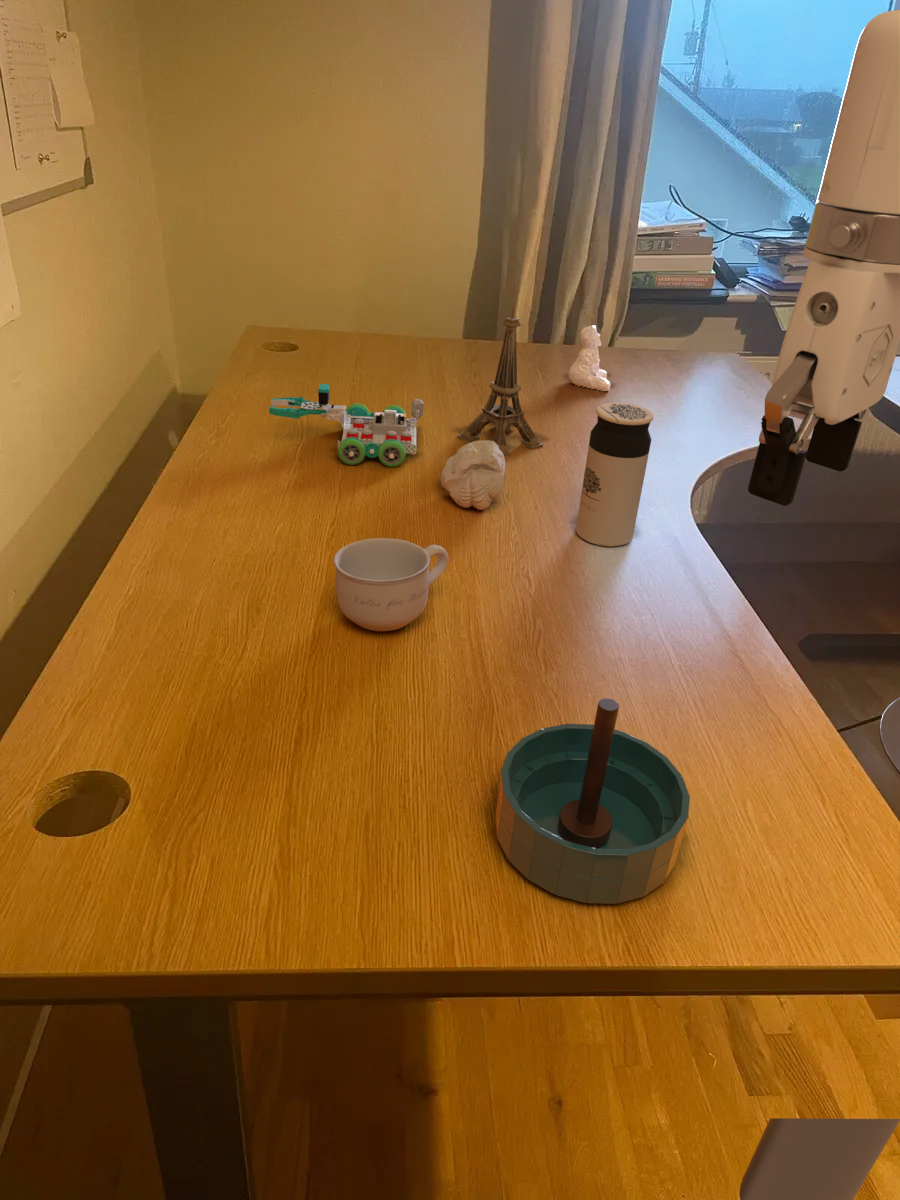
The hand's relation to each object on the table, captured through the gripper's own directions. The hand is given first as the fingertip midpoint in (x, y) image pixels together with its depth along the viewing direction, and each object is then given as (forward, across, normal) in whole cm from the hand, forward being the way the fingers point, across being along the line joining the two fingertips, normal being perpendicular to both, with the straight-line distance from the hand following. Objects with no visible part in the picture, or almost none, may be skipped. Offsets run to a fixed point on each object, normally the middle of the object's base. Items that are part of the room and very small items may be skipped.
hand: (798, 481), depth 67 cm
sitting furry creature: (+31, +90, +78) cm, 123 cm away
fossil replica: (+31, +29, +56) cm, 70 cm away
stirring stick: (+30, -14, +4) cm, 33 cm away
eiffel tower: (+31, +50, +69) cm, 90 cm away
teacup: (+31, -2, +40) cm, 51 cm away
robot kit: (+31, +28, +84) cm, 93 cm away
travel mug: (+31, +35, +36) cm, 59 cm away
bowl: (+30, -14, +4) cm, 34 cm away
